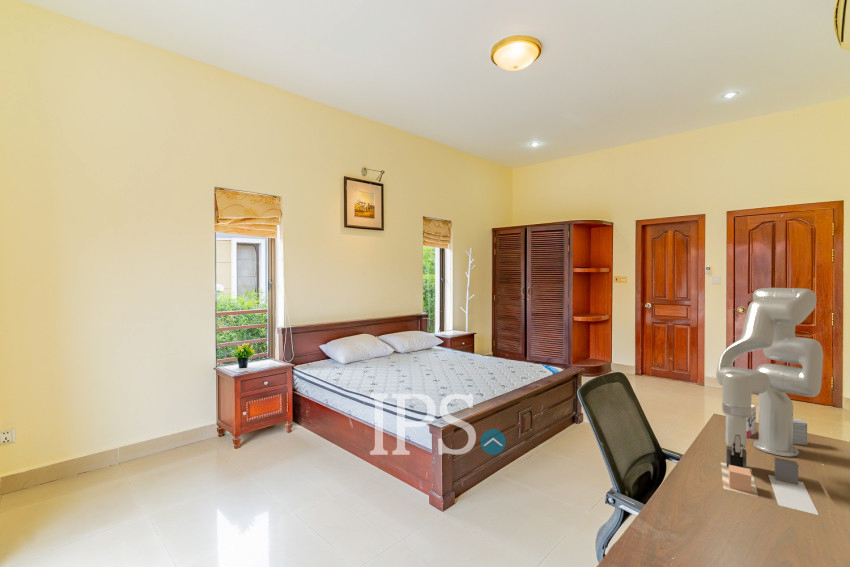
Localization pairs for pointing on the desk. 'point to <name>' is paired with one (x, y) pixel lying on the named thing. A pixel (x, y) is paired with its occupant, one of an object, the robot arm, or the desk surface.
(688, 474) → the desk surface
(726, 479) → the cube strip
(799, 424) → the medicine box
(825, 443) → the desk surface
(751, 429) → the ink box
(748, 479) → the cube
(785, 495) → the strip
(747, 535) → the desk surface
